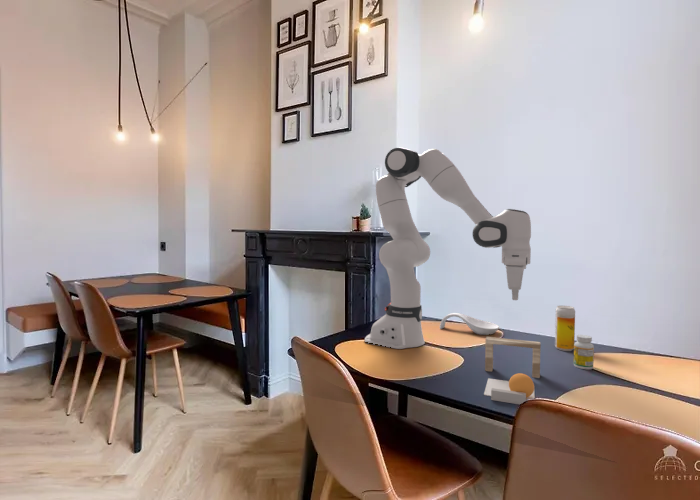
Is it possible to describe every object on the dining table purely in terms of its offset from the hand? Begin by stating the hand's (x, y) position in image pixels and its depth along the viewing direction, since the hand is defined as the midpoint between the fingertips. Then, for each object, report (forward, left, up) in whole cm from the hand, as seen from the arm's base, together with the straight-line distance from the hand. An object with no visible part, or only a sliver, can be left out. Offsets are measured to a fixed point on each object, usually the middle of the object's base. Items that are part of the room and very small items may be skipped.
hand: (515, 299), depth 135 cm
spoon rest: (-18, +27, -20) cm, 38 cm away
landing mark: (0, -31, -19) cm, 36 cm away
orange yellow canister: (+16, +15, -19) cm, 29 cm away
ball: (+3, -34, -16) cm, 38 cm away
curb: (0, -38, -19) cm, 43 cm away
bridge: (0, -17, -19) cm, 26 cm away
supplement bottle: (+20, -3, -19) cm, 28 cm away
